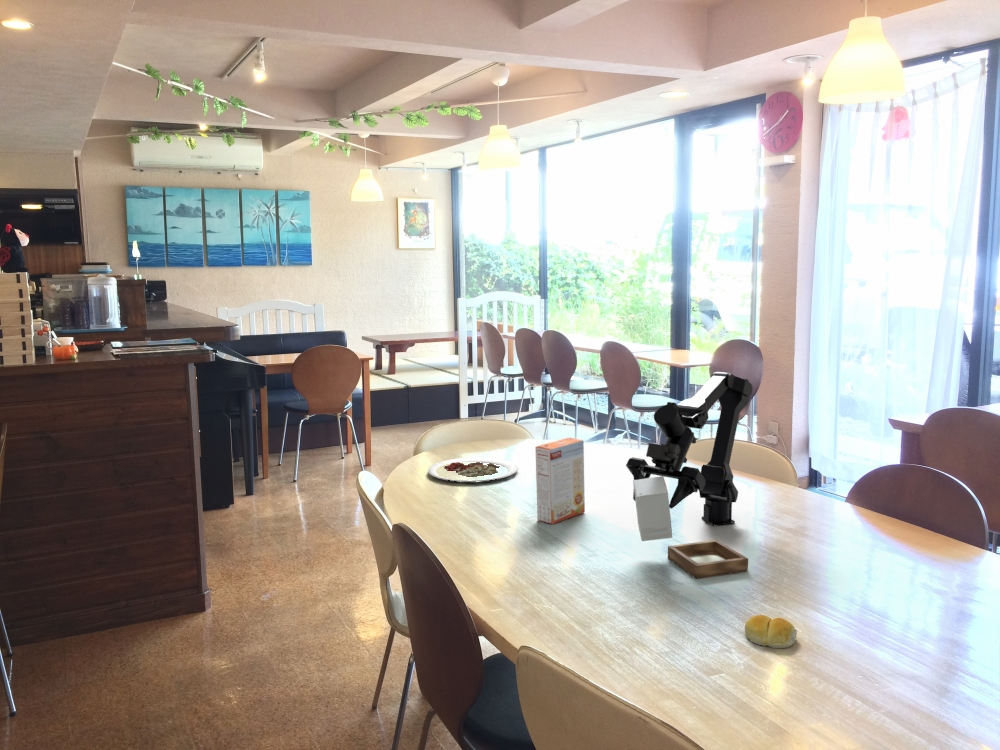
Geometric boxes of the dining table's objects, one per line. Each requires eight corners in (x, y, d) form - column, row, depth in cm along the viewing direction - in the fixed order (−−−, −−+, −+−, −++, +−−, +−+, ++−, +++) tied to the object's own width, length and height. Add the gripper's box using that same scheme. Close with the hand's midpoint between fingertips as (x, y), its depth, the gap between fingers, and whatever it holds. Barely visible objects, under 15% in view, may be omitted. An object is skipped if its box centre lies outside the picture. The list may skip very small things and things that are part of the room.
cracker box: (569, 508, 227) (568, 436, 224) (585, 513, 223) (585, 439, 220) (535, 520, 218) (534, 445, 215) (552, 525, 213) (551, 448, 210)
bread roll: (750, 624, 154) (751, 605, 154) (799, 635, 149) (800, 615, 149) (738, 642, 147) (738, 621, 147) (788, 654, 142) (789, 633, 142)
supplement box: (673, 538, 186) (668, 493, 180) (641, 542, 186) (635, 497, 181) (668, 519, 192) (664, 475, 187) (637, 523, 193) (632, 479, 188)
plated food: (518, 485, 253) (518, 475, 252) (423, 487, 253) (423, 476, 253) (517, 461, 282) (517, 452, 282) (432, 463, 283) (432, 453, 282)
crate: (716, 551, 192) (716, 539, 191) (747, 571, 180) (748, 558, 179) (667, 558, 188) (667, 546, 188) (696, 578, 176) (696, 565, 176)
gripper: (629, 424, 194) (604, 479, 188) (700, 434, 182) (675, 493, 176) (646, 449, 201) (623, 503, 195) (715, 461, 189) (692, 518, 183)
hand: (652, 503), depth 187 cm, fingers closed on supplement box, 9 cm apart
